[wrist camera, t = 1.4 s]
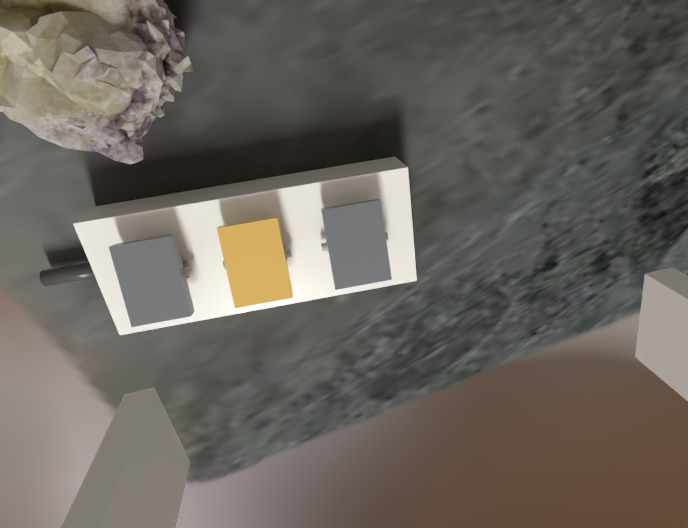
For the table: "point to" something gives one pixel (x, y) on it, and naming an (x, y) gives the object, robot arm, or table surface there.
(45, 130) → the geode
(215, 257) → the white rocker switch box
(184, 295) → the block
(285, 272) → the amber rocker
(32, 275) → the table surface
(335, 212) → the block
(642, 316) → the robot arm
